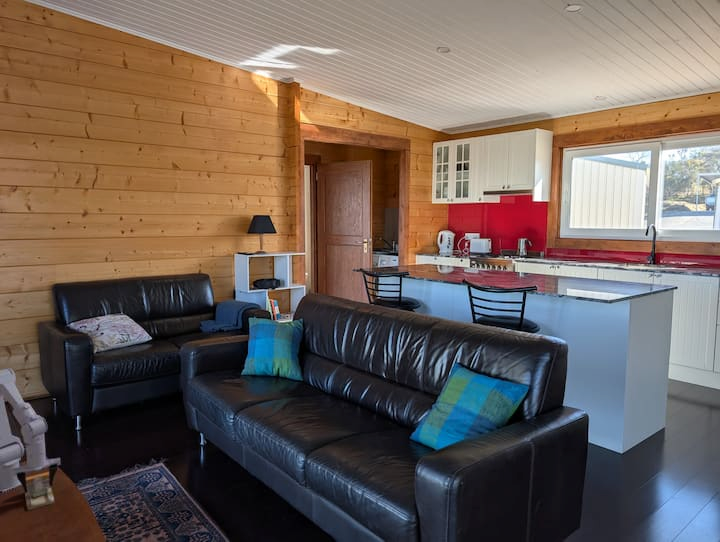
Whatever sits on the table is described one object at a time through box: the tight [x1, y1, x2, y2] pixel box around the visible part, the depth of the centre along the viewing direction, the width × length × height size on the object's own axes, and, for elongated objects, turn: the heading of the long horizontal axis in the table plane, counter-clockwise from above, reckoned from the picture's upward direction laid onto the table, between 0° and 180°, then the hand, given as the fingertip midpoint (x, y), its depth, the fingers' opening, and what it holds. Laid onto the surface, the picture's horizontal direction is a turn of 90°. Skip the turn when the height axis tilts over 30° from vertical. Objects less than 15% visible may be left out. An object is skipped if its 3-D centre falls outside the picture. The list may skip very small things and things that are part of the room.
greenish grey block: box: [32, 478, 46, 497], centre depth 188 cm, size 4×4×5 cm
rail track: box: [23, 479, 56, 511], centre depth 188 cm, size 14×8×4 cm, turn 37°
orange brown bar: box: [26, 471, 49, 484], centre depth 191 cm, size 2×9×2 cm, turn 127°
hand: (38, 488), depth 188 cm, fingers open, 7 cm apart
